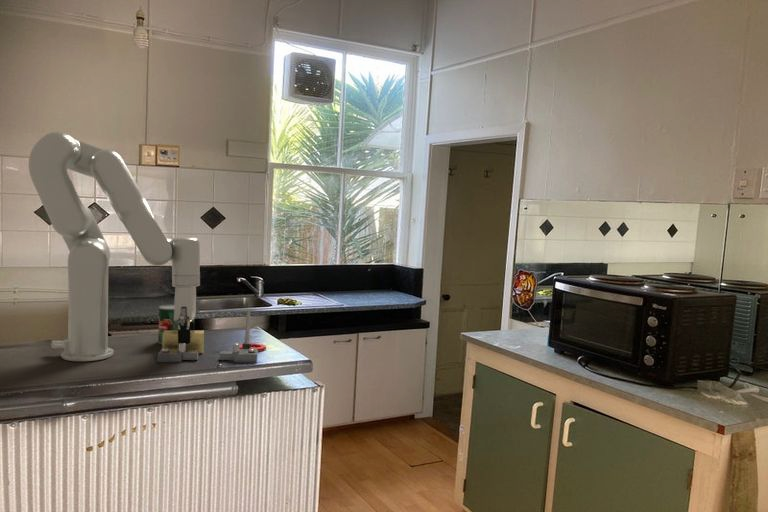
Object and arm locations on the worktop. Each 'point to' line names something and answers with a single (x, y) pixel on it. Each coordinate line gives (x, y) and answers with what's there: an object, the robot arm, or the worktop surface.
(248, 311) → the tow hook
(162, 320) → the canned tomato
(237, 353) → the grey plate with studs
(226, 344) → the worktop surface
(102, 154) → the robot arm
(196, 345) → the tan cork brick
